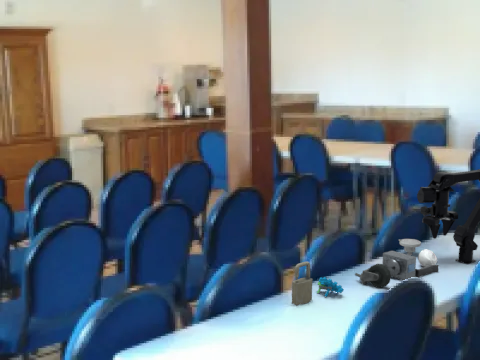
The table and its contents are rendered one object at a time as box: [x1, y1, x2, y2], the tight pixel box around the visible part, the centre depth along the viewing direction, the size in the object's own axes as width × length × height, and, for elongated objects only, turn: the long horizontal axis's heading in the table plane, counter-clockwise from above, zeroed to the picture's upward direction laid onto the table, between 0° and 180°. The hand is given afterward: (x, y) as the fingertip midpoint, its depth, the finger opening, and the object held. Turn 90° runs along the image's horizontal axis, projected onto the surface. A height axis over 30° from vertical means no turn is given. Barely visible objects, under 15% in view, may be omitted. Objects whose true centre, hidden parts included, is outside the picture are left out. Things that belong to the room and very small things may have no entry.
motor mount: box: [382, 250, 439, 281], centre depth 285 cm, size 23×15×9 cm, turn 130°
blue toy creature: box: [316, 276, 344, 298], centre depth 259 cm, size 11×6×10 cm
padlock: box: [291, 261, 313, 306], centre depth 251 cm, size 4×8×15 cm, turn 131°
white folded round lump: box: [417, 248, 438, 267], centre depth 294 cm, size 8×8×8 cm
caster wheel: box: [354, 263, 392, 289], centre depth 270 cm, size 6×10×15 cm
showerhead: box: [398, 238, 422, 256], centre depth 312 cm, size 9×7×10 cm
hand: (439, 237), depth 297 cm, fingers open, 7 cm apart
